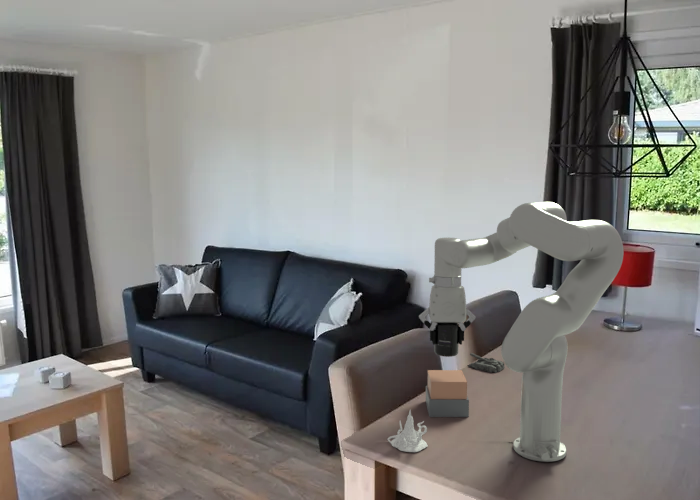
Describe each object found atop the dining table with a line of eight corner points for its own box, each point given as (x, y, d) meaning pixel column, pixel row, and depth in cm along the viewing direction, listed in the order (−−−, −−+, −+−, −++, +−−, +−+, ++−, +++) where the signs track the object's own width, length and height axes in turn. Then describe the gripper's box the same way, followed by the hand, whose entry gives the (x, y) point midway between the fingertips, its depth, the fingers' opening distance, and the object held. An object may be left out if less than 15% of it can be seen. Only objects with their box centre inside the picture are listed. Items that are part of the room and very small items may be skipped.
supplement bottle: (440, 358, 167) (440, 316, 165) (430, 351, 173) (431, 310, 172) (462, 356, 168) (463, 314, 167) (452, 349, 175) (453, 309, 173)
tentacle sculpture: (403, 431, 158) (403, 398, 157) (439, 446, 150) (439, 410, 148) (380, 442, 152) (379, 407, 151) (416, 458, 144) (416, 421, 142)
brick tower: (468, 417, 167) (469, 382, 166) (429, 416, 167) (429, 382, 166) (462, 402, 178) (463, 369, 177) (425, 401, 178) (425, 369, 177)
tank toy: (463, 370, 208) (463, 356, 207) (476, 363, 215) (476, 349, 214) (495, 377, 200) (495, 362, 199) (507, 370, 207) (508, 355, 207)
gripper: (417, 284, 164) (417, 347, 167) (481, 284, 164) (479, 347, 166) (415, 279, 172) (415, 339, 174) (476, 279, 171) (475, 339, 174)
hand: (446, 342), depth 170 cm, fingers closed on supplement bottle, 6 cm apart
